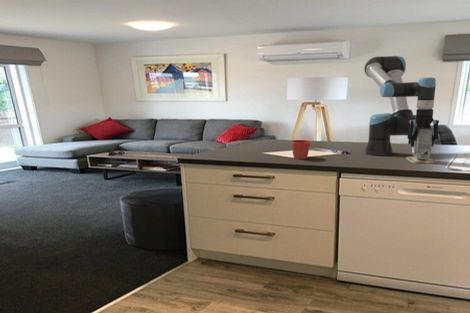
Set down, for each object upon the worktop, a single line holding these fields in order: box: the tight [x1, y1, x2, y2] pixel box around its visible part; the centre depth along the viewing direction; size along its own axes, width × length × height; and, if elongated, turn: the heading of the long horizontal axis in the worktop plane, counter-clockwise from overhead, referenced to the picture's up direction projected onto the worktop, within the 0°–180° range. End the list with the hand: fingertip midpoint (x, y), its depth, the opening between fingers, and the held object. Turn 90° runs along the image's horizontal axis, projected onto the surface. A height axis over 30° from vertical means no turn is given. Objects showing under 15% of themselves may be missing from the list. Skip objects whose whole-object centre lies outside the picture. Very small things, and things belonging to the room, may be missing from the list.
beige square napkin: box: [405, 156, 437, 164], centre depth 177 cm, size 11×11×1 cm
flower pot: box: [291, 139, 311, 160], centre depth 193 cm, size 11×11×10 cm
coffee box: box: [412, 126, 433, 159], centre depth 175 cm, size 9×6×16 cm
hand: (421, 152), depth 176 cm, fingers closed on coffee box, 7 cm apart
